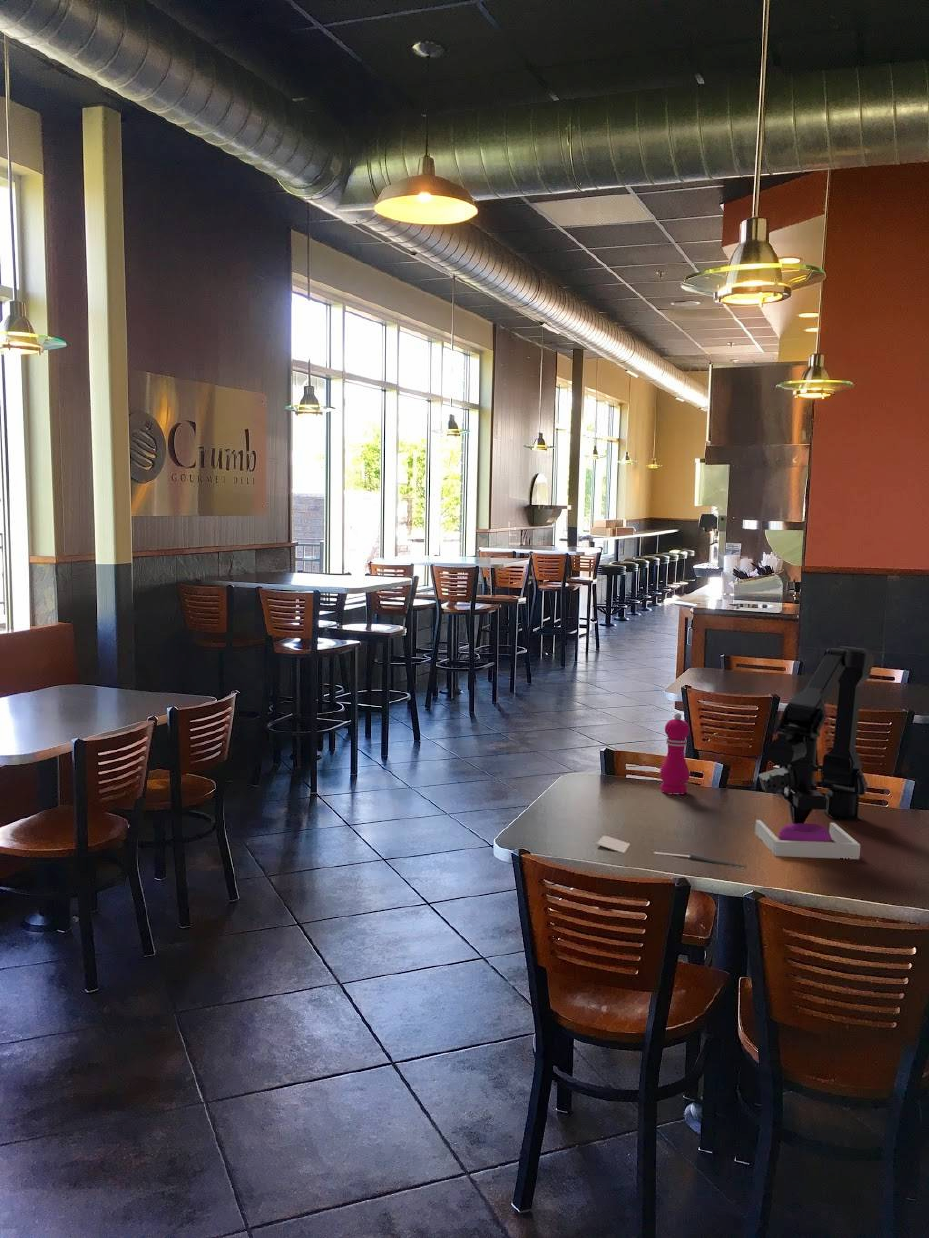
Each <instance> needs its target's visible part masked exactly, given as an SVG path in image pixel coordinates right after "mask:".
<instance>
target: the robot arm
mask: <svg viewBox="0 0 929 1238" xmlns="http://www.w3.org/2000/svg"><path fill="white" fill-rule="evenodd" d="M874 664H875V657H874V654H873V653H871V651H870V650H869V649H868V648H864V647H863V648H861V647H851V646H843V645H841V646H839V647H838V648H836V647H829V648H826V649H825V650H824V653H823V659H822V660H821V661H820V664H819V665H818V667H817V669H816V671H815V672H814V674H813V676H812V677H811V679H810V681H809V683H808V684H807V686H806V687H805V689H804V690H802V691H800V692H798V693H796V694H794V695H793V697H791V699H790V700H789V702H788V703H787V704H786V705H785V706H784V710H783V713H782V715H781V718H780V720H779V723H778V726H777V728H776V732H778V733H777V738H776V739H773V740H772V741H771V742H770V743H769V745H768V746H767V757H768V759H769V760H770V761H771V762H772V764H774V765H776V766H777V767H780V768H776V769H775V768H774V769H771V770H767V771H765V772H761V773H759V774H758V775H757V777H758V779H759V782H760V786H761V789H762V790H763V791H764V792H765V793H766V794H772V793H774V792H776V791H779V790H782V789H784V791H783V792H782V793H780V796H781V797H782V798H783V799H784V800H785V801H786V802H787V804H788V808H789V812H790V818H791V824H795V823H805V821H806V820H807V819H808V818H809V815H810V814H811V813H812V811H813V810H820V811H821V810H823V812H824V814H826V815H827V816H829V817H830V818H831V819H833V820H845V821H846V820H848V821H861V820H862V818H861V817H860V816H859V807H860V805H859V804H860V796H865V795H866V792H867V790H868V789H867V787H868V782H867V779H866V777H865V775H864V772H863V770H862V759H861V757H860V755H859V754H858V752H857V750H856V743H857V742H856V741H857V732H858V723H859V714H860V705H861V704H860V703H861V692H862V687H863V685H864V684H865V683H866V681H867V680H868V679H869V678H870V676H871V672H872V669H873V667H874ZM837 684H838V693H837V703H836V712H835V713H836V714H835V722H834V723H835V725H834V732H833V733H834V734H833V744H832V747H831V749H829V751H828V752H827V753H824V755H823V756H822V757H823V758H822V759H823V760H822V765H821V768H820V779H821V788H822V789H826V790H827V794H825V795H824V794H822V793H821V792H820V791H817V790H818V785H816V783H815V773H816V772H819V766H818V765H816V760H817V747H818V738H819V737H821V733H820V731H821V729H822V727H823V725H824V723H825V721H826V719H827V710H826V703H827V701H828V699H829V697H830V695H831V694H832V692H833V690H834V689H835V687H836V685H837Z"/></svg>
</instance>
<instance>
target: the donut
mask: <svg viewBox="0 0 929 1238" xmlns="http://www.w3.org/2000/svg"><path fill="white" fill-rule="evenodd" d="M778 837H779V838H778V839H779V840H786V841H812V842H830V840H832V839H831V835H830V833H829V829H827V828H826V827H825V826H823V825H820V824H816V823H805V822H804V823H795V824H792V823H789V824H787V825H785V826H783V827H782V828H781V829H780V831H779V833H778Z"/></svg>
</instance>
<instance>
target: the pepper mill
mask: <svg viewBox="0 0 929 1238" xmlns="http://www.w3.org/2000/svg"><path fill="white" fill-rule="evenodd" d="M673 717H674V718H673V719H670V720H669V721H667V722H666V724H665V727H664V733H665V735H666V736H667V737H666V738H665V740H666V745H667V753H666V757H665V759H664V761H663V764H662V765H661V767H660V771H659V777H660V778H661V780H662V781H663V782H662V783H661V784H660V785H661V787H660V790H662V791H664V792H666V793H672V794H673V793H679V794H681V793H685V792H686V791H687V790H688V787H687V785H686V783H687V782H688V781H689V780H690V771H689V767H688V765H687V762H686V758H685V748H686V746H687V741H688V740H687V737H688V736H689V734H690V726H689V724H688V722H687V721H685V720H683V719H682V714H681V713H679V712H678V713H675V714H674V715H673ZM662 791H661V792H662ZM666 793H665V794H666Z"/></svg>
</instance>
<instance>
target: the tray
mask: <svg viewBox="0 0 929 1238" xmlns="http://www.w3.org/2000/svg"><path fill="white" fill-rule="evenodd" d="M754 829H755V830H754V834H755V836H757V838H758V839H759V840H760V839H761V840H762V841H763V842H762V841H761V840H760V841H761V842H762V843H763V844H764V845H765V846H766V847H767V849H768V850H769V849H770V850H771V851H772V852H771V851H770V850H769V851H770V852H771V854H773V855H774V856H775V857H788V858H789V857H791V858H792V857H794V858H812V859H813V858H814V859H816V858H819V859H821V858H822V859H840V858H843V859H844V860H845V858H846V860H860V855H861V844H860V843H859V842H858V841H856V840H855V839H854V838H853V837H852V836H850V835H849V834H848V833H847V832H846V831H844V830H843V829H842V828H841V827H840V826H839V825H838V824H836V823H835V822H829V829H828V831H829V833H830V835H831V839H830V840H832V842H831V841H829V842H812V841H786V840H780V838H778V837H777V836H776V835H775V834H774V832H772V830H771V829H770V828H768V826H767V825H766V824H765V823H764V822H763V821H762V820H761V819H755V827H754ZM833 841H834V842H833ZM848 858H849V859H848Z"/></svg>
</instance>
